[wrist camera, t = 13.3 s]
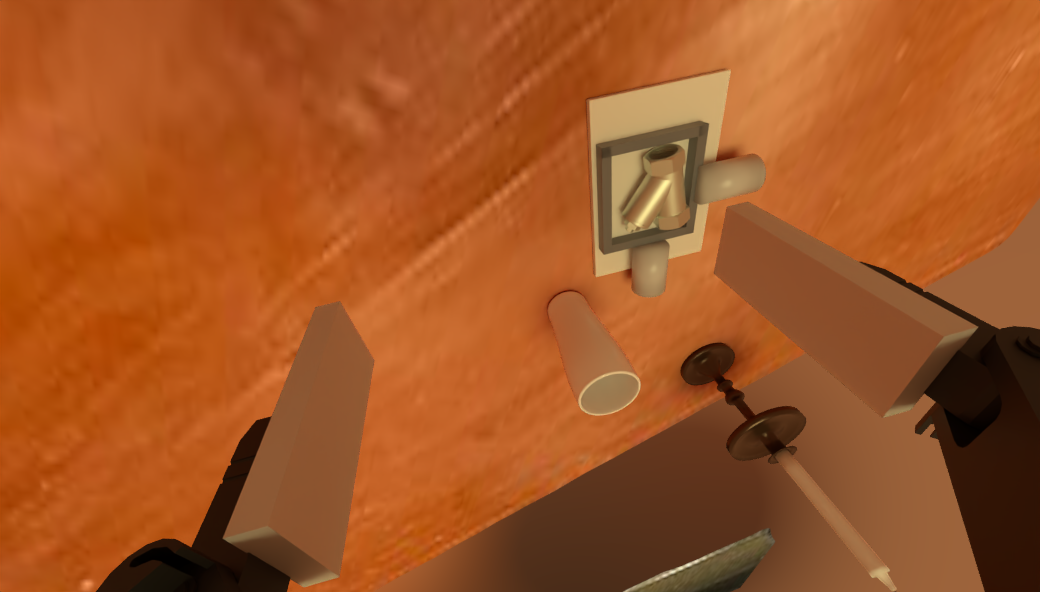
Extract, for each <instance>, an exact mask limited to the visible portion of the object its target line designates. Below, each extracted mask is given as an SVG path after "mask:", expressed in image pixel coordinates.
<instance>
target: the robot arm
mask: <svg viewBox="0 0 1040 592" xmlns="http://www.w3.org/2000/svg"><path fill="white" fill-rule="evenodd" d="M714 274H715V275H716V276H717V277H719V278H720V279H721V280H722V281H723V282H724V283H726V284H727V285H728V286H729V287H730V288H731V289H733V290H734V291H735V292H736V293H737V294H738V295H740V296H741V297H742V298H743V299H744V300H745V301H747V302H748V303H749V304H750V305H751V306H752V307H754V308H755V309H756V310H757V311H758V312H759V313H761V314H762V315H763V316H764V317H765V318H766V319H768V320H769V321H770V322H771V323H772V324H773V325H774V326H776V327H777V328H778V329H779V330H780V331H781V332H783V333H784V334H785V335H786V336H787V337H788V338H790V339H791V340H792V341H793V342H794V343H795V344H797V345H798V346H799V347H800V348H801V349H802V350H804V351H805V352H806V353H807V354H808V355H809V356H811V357H812V358H813V359H814V360H815V361H816V362H818V363H819V364H820V365H821V366H822V367H824V368H825V369H826V370H827V371H828V372H829V373H830V374H832V375H833V376H834V377H835V378H836V379H838V380H839V381H840V382H841V383H842V384H843V385H844V386H846V387H847V388H848V389H849V390H850V391H851V392H853V393H854V394H855V395H856V396H857V397H858V398H860V399H861V400H862V401H863V402H864V403H865V404H867V405H868V406H869V407H870V408H871V409H872V410H874V411H875V412H876V413H877V414H878V415H879V416H881V417H882V418H884V417H888V416H891V415H895V414H898V413H902V412H905V411H908V410H911V409H912V408H913V407H914V405H915V404H916V403H917V402H918V400H919V399H920V398H921V397H922V395H923V394H924V393H925V394H926V395H927V396H929V397H930V398H932V399H933V400H934V401H936V403H935V404H934V405H933V406H932V407H931V408H930V410H929V411H928V412H927V413H926V414H925V415H924V417H923V418H922V419H921V420H920V421H919V422H918V424H917V425H916V426H915V433H917V434H920V435H921V434H922V433H923V432H924V431H925V429H927V427H928V426H929V425H930V424H934V426H935V430H934V431H933V433H932V434H931V435H930V437H932V438H936V439H938V440H939V443H940V446H941V449H942V453H943V456H944V459H945V463H946V466H947V469H948V472H949V476H950V479H951V482H952V485H953V489H954V492H955V495H956V498H957V502H958V505H959V508H960V512H961V515H962V518H963V521H964V525H965V528H966V531H967V535H968V538H969V541H970V544H971V548H972V551H973V554H974V557H975V561H976V564H977V567H978V571H979V574H980V577H981V581H982V584H983V587H984V590H985V592H1040V329H1035V328H1030V327H1016V326H1013V327H1007V328H1002V329H998V328H996V327H994V326H991V325H990V324H988V323H986V322H984V321H982V320H980V319H978V318H976V317H974V316H973V315H971V314H969V313H967V312H965V311H963V310H961V309H959V308H957V307H955V306H954V305H952V304H950V303H948V302H946V301H944V300H942V299H940V298H938V297H937V296H934V295H933V294H931V293H929V292H923V289H921V288H919V287H918V286H916V285H914V284H912V283H906V280H904V279H902V278H901V277H899V276H897V275H895V274H893V273H891V272H889V271H887V270H885V269H883V268H879V267H876V266H873V265H870V264H867V263H863V262H858V261H856V260H854V259H852V258H851V257H849V256H847V255H845V254H843V253H841V252H840V251H838V250H836V249H834V248H832V247H830V246H828V245H827V244H825V243H823V242H821V241H819V240H817V239H816V238H814V237H812V236H810V235H808V234H806V233H805V232H803V231H801V230H799V229H797V228H795V227H794V226H792V225H790V224H788V223H786V222H784V221H782V220H781V219H779V218H777V217H775V216H773V215H771V214H770V213H768V212H766V211H764V210H762V209H760V208H759V207H757V206H755V205H753V204H751V203H749V202H745V203H741V204H736V205H732V206H728V207H727V209H726V214H725V219H724V224H723V229H722V234H721V239H720V244H719V249H718V254H717V259H716V264H715V270H714ZM373 365H374V359H373V357H372V355H371V354H370V352H369V350H368V349H367V347H366V345H365V343H364V342H363V340H362V338H361V337H360V335H359V333H358V331H357V330H356V328H355V326H354V325H353V323H352V321H351V319H350V318H349V316H348V314H347V313H346V311H345V309H344V307H343V306H342V304H341V302H340V301H339V302H335V303H331V304H327V305H323V306H318V307H315V310H314V312H313V315H312V317H311V320H310V322H309V325H308V327H307V330H306V332H305V335H304V337H303V340H302V342H301V345H300V347H299V350H298V352H297V355H296V357H295V360H294V362H293V365H292V367H291V370H290V372H289V375H288V377H287V380H286V382H285V385H284V387H283V390H282V392H281V395H280V397H279V399H278V402H277V404H276V407H275V409H274V412H273V414H272V416H271V417H267V418H263V419H260V420H256V422H255V423H254V424H253V425H252V426H251V428H250V429H249V430H248V431H247V433H246V434H245V435H244V436H243V438H242V439H241V440H240V442H239V444H238V446H237V448H236V450H235V453H234V455H233V457H232V459H231V461H230V462H231V465H230V466H228V468H227V470H226V472H225V475H224V477H223V479H222V480H223V483H222V484H220V486H219V488H218V490H217V492H216V494H215V497H214V499H213V501H212V503H211V505H210V508H209V510H208V512H207V514H206V516H205V519H204V521H203V523H202V525H201V527H200V530H199V532H198V534H197V536H196V538H195V541H194V543H193V545H192V547H189V546H187V545H186V544H184V543H182V542H180V541H178V540H176V539H161V540H158V541H155V542H153V543H150V544H147V545H145V546H144V547H142V548H141V549H139V550H138V551H136V552H135V553H133V554H132V555H130V556H129V557H127V558H126V559H125V560H124V561H123V562H122V563H121V564H120V565H119V566H118V567H117V568H116V569H115V570H113V571H112V572H111V573H110V574H109V576H108V577H107V578H106V579H105V581H104V582H103V583H102V585H101V586H100V587H99V588H98V590H97V591H96V592H287V589H288V585H289V581H290V579H291V580H293V581H294V582H296V583H298V584H299V585H301V586H303V587H307V586H310V585H314V584H317V583H321V582H324V581H327V580H331V579H334V578H338V577H339V576H340V570H341V564H342V558H343V552H344V545H345V539H346V533H347V527H348V521H349V514H350V508H351V502H352V496H353V489H354V483H355V477H356V471H357V465H358V458H359V452H360V446H361V440H362V434H363V427H364V421H365V415H366V409H367V403H368V396H369V390H370V384H371V378H372V371H373Z"/></svg>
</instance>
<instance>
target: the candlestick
mask: <svg viewBox="0 0 1040 592" xmlns="http://www.w3.org/2000/svg"><path fill="white" fill-rule="evenodd" d="M734 358H735V354H734V352H733V350H732V349H731V348H730V347H729V346H728V345H726V344H723V343H713V344H709V345H706V346H703V347H701V348H699V349H698V350H696V351H695V352H693V353H692V354H691V355H690V356H689V357H688V358H687V359H686V360H685V361H684V363H683V365H682V367H681V376H682V377H683V379H684V380H685V381H686V382H687V383H688V384H691V385H703V384H706V383H709V382H712V381H714V380H715V381H716V382H717V384H718V386H717V389H718V390H719V391H720V392H724V393H725V394H726V395H725V399H726V402H727V404H729V405H735V406H736V407H737V408H738V409H739V411H740V412H741V413H742V414H743V415H744V417H745V418H746V419H747V421H745V422H744V423H743V424H741V425H740V426H739V427H738V428H737V429H736V430H735V431H734V432H733V433H732V434H731V435H730V437H729V438H728V440H727V443H726V448H727V450H728V451H729V453H730V454H731V456H732V457H733V458H735V459H737V460H742V461H745V460H753V459H757V458H761V457H764V456H766V455H769V454H772V456H771V457H770V458H769V460H768V462H769V463H770V464H775V463H780V464H781V466H782V467H783V468H784V469H785V470H786V472H787V473H788V474H789V475H790V477H791V478H792V479H793V480H794V482H795V483H796V484H797V485H798V486H799V488H800V489H801V490H802V491H803V493H804V494H805V495H806V496H807V498H808V499H809V500H810V501H811V503H812V504H813V505H814V506H815V507H816V509H817V510H818V511H819V512H820V514H821V515H822V516H823V518H825V520H826V521H827V522H828V524H829V525H830V526H831V527H832V528H833V530H834V531H835V532H836V534H837V535H838V536H839V537H840V539H841V540H842V541H843V542H844V543H845V545H846V546H847V547H848V548H849V550H850V551H851V552H852V553H853V555H854V556H855V557H856V558H857V560H858V561H859V562H860V563H861V564H862V566H863V567H864V568H865V569H866V571H867V572H868V573H869V574H870V576H871V577H872V578H875V577H877V578H878V579H879V580H880V581H882V582H883V583H884V584H885V585H886V586H887V587H888V588H889V589H890V590H891V591H893V592H896V591H897V588H896V587H895V586H894V584H893V582H892V580H891V578H890V577H889V575H888V573H887V572H889V571H890V570H889V569H888V567H887V566H886V565H885V564H884V563H883V561H882V560H881V559H880V558H879V557H878V556H877V555H876V553H875V552H874V551H873V550H872V548H871V547H870V546H869V545H868V544H867V543H866V541H865V540H864V539H863V538H862V537H861V536H860V535H859V533H858V532H857V531H856V530H855V529H854V527H853V526H852V525H851V524H850V523H849V521H848V520H847V519H846V518H845V517H844V516H843V514H842V513H841V512H840V511H839V510H838V509H837V507H836V506H835V505H834V504H833V503H832V501H831V500H830V499H829V498H828V497H827V496H826V495H825V493H824V492H823V491H822V490H821V489H820V487H819V486H818V485H817V484H816V483H815V482H814V480H813V479H812V478H811V477H810V476H809V475H808V473H807V472H806V471H805V470H804V469H803V467H802V466H801V465H800V464H799V463H798V462H797V460H796V459H795V458H794V457H793V456H792V455H793V454H794V453H795V452H796V450H797V448H796V447H795V446H790V447H786V445H787V444H789V443H790V442H791V441H792V440H794V439H795V438H796V437H797V436H798V435H799V434H800V432H801V431H802V430H803V428H804V426H805V424H806V418H805V417H804V415H803V414H802V413H801V412H800V411H799V410H798V409H797V408H795V407H791V406H782V407H777V408H773V409H770V410H767V411H764V412H762V413H759V414H757V415H755V414H754V413H753V412H752V411H751V409H750V408H749V407H748V406H747V405H746V403H745V402H744V401H743V399H744V393H743V392H741V391H739V390H737V389H734V388H733V387H732V385H733V382H732V381H731V380H725V379H724V377H723V376H722V375H723V374H724V373H726V371H727V370H728V369H729V368H730V367H731V366H732V364H733V362H734Z"/></svg>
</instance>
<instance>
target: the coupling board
mask: <svg viewBox="0 0 1040 592" xmlns="http://www.w3.org/2000/svg"><path fill="white" fill-rule="evenodd" d="M730 73H731V70H729V69H723V70H719V71H714V72H709V73H705V74H700V75H696V76H691V77H687V78H682V79H677V80H673V81H668V82H664V83H659V84H654V85H650V86H645V87H641V88H636V89H631V90H627V91H622V92H618V93H613V94H609V95H604V96H599V97H595V98H590V99H586V104H587V128H588V151H589V175H590V199H591V222H592V246H593V269H594V275H595V277H599V276H603V275H607V274H611V273H615V272H619V271H623V270H627V269H631V268H632V285H631V288H632V290H633V292H634V293H636V294H637V295H639V296H642V297H656V296H659V295H661V294H662V293H663V292H664V291H665V287H666V277H667V268H668V259H670V258H674V257H678V256H682V255H686V254H690V253H694V252H698V251H701V248H702V242H703V236H704V230H705V224H706V218H707V212H708V206H709V203H711V202H715V201H719V200H723V199H727V198H732V197H736V196H740V195H744V194H748V193H752V192H756V191H758V190H759V189H760V188H761V187H762V185H763V183H764V181H765V177H766V169H765V165H764V162H763V160H762V159H761V158H760V157H759V156H758V155H756V154H748V155H743V156H739V157H735V158H731V159H726V160H722V161H718V162H716V157H717V151H718V145H719V139H720V133H721V127H722V121H723V115H724V109H725V103H726V97H727V91H728V85H729V79H730ZM667 144H677V145H680V146H681V147H682V148H683V149H684V150H685V158H686V163H685V164H684V166H683V174H684V186H685V198H686V204H687V205H688V206H689V208H690V219H689V220H688V221H687V222H686V223H685V224H684V225H683V226H681V227H680V228H677V229H672V230H661V229H659V228H657V227H656V225H655V224H654V223H653V222H652V224H651V225H650V227H649V228H648V229H642V228H641V229H640V230H639V231H635V230H634V231H633V232H632V233H631V232H628V231H627V230H626V229H625V227H626V225H625V223H624V221H625V218H624V217H623V215H622V212H623V211H624V209H625V208H626V206H627V205H628V203H629V201H630V200H631V198H632V197H633V195H634V194H635V192H636V191H637V189H638V187H639V186H640V184H641V183H642V181H643V180H644V178H645V176H646V175H647V172H646V171H645V169H644V162H643V157H644V156H645V154H646V153H648V152H649V151H650V150H652V149H654V148H656V147H659V146H662V145H667Z"/></svg>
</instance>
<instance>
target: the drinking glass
mask: <svg viewBox="0 0 1040 592" xmlns="http://www.w3.org/2000/svg"><path fill="white" fill-rule="evenodd" d="M548 317H549V319H550V322H551V324H552V327H553V331H554V334H555V338H556V341H557V345H558V348H559V352H560V355H561V359H562V363H563V366H564V370H565V373H566V376H567V379H568V382H569V384H570V387H571V389H572V392H573V394H574V396H575V398H576V400H577V403H578V405H579V407H580V408H581V410H582V411H584V412H585V413H587V414H590V415H607V414H611V413H614V412H617V411H619V410H621V409H623V408H624V407H626V406H627V405H629V404H630V403H631V402H632V401H633V400H634V399H635V398H636V396H637V395H638V393H639V391H640V387H641V383H640V379H639V377H638V376H637V374H636V372H635V370H634V368H633V366H632V364H631V363H630V361H629V359H628V358H627V356H626V354H625V353H624V351H623V350H622V348H621V347H620V346H619V344H618V343H617V342H616V340H615V339H614V338H613V336H612V335H611V334H610V332H609V331H608V330H607V328H606V327H605V326H604V324H603V323H602V322H601V320H600V319H599V318H598V316H597V315H596V314H595V312H594V311H593V310H592V308H591V307H590V306H589V304H588V302H587V301H586V299H585V298H584V296H583V295H581V294H580V293H578V292H574V291H567V292H563V293H560V294H558V295H557V296H555V297H554V298H553V299H552V300H551V302H550V304H549V306H548Z"/></svg>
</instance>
